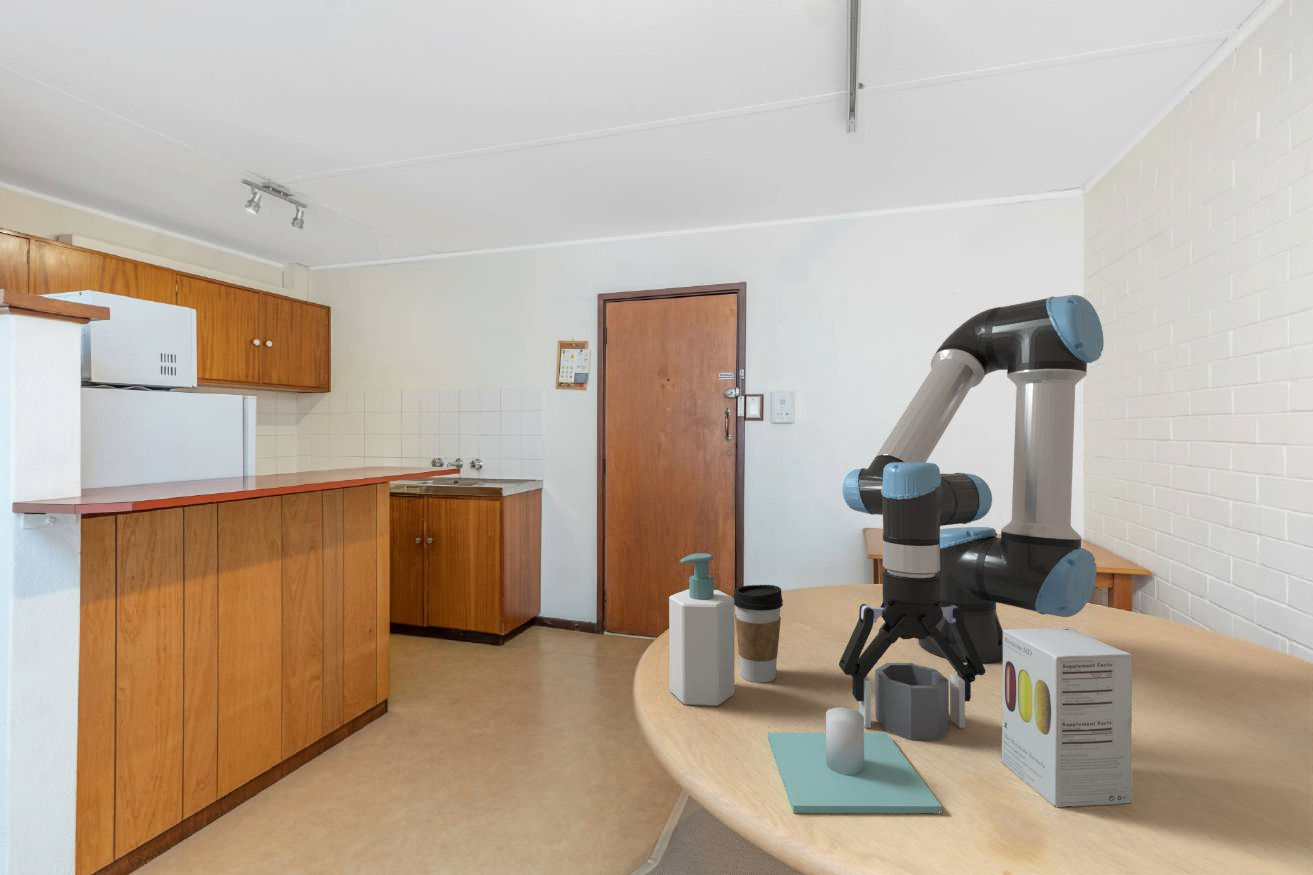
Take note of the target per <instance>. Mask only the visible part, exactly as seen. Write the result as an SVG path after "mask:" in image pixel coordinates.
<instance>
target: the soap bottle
mask: <svg viewBox="0 0 1313 875" xmlns="http://www.w3.org/2000/svg"><path fill="white" fill-rule="evenodd" d="M713 559H714V555H712V554H710V553H706V552H704V553H702V552H701V553H699V552H697V553H696V552H695V553H693V554H689V555H687V556H685V557H683V558H681V559H680V560H679V563H680V564H682V565H683V564H687V563H693V565H694V566H693V567H694V568H693V571H694V572H693V573H694V575H691V576H689V578H688V581H689V585H688V587H689V588H688V589H685V590H683V591H680V592H677V593H675V594H672V595H670V596H669V597H668V602H669V603H668V606H669V608H668V610H669V612H668V614H669V615H668V616H669V617H668V618H669V620H668V621H669V622H668V623H669V624H668V625H669V627H668V628H669V636H668V637H669V638H668V639H669V640H668V641H669V645H668V647H669V658H668V659H669V692H671V694H672V695H673V696H675V697H676V699H678V700H679V702H681V703H682V704H683V705H685V706H700V707H701V706H702V707H703V706H704V707H705V706H707V707H718V706H720V705H721V704H723V703H724V702H725V701H727V700H729V698H731V697H732V696H734V695H735V693H736V692H735V689H736V688H735V687H736V686H735V682H736V681H735V678H736V677H735V676H736V675H735V605H734V598H733V597H734V596H732V595H731V596H730V595H729V594H727V593H725V592H723V591H721V590H719V589H715V588H714V583H715V582H714V580H715V579H714V577H713V576H711V575H710V573H709V572H710V570H709V569H710V567H709V566H710V564H709V562H710V561H712V560H713Z"/></svg>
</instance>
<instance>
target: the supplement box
mask: <svg viewBox="0 0 1313 875" xmlns="http://www.w3.org/2000/svg"><path fill="white" fill-rule="evenodd" d="M1002 630H1003V660H1002V691H1001V692H1002V694H1001V696H1002V698H1001V699H1002V700H1001V701H1002V704H1001V706H1002V707H1001V708H1002V709H1001V710H1002V712H1001V717H1002V718H1001V719H1002V720H1001V763H1003V764H1004V765H1005V766H1007V768H1009V770H1011V771H1012V772H1013V773H1014V774H1016V775H1017V776H1018V777H1019V778H1020V779H1021V780H1023V781H1024V782H1025V783H1027V785H1029V786H1030V787H1031V788H1032V789H1033V790H1035V791H1036V793H1038V794H1039V795H1040V794H1041V797H1043V798H1044V799H1045V800H1046V799H1047V800H1046V801H1047V802H1049V803H1050V804H1051V803H1052V804H1053V805H1052V804H1051V805H1052V806H1054V805H1055V806H1057V807H1056V808H1067V807H1066V806H1072V807H1085V806H1086V807H1089V806H1103V805H1104V806H1105V805H1122V804H1123V805H1124V803H1125V804H1132V761H1133V760H1132V745H1133V744H1132V741H1133V740H1132V733H1133V732H1132V727H1133V726H1132V723H1133V720H1132V719H1133V716H1132V715H1133V712H1132V711H1133V707H1132V706H1133V703H1132V702H1133V654H1131V653H1130V652H1127V651H1124V650H1121V649H1119V648H1117V647H1114V646H1112V645H1109V644H1107V643H1104V642H1102V641H1100V640H1098V639H1095V638H1093V637H1091V636H1088V635H1086V634H1084V633H1082V632H1079V631H1077V630H1075V628H1074V629H1073V628H1071V627H1046V628H1045V627H1041V628H1039V627H1038V628H1009V629H1008V628H1006V629H1002ZM1055 806H1054V807H1055ZM1064 806H1065V807H1064Z"/></svg>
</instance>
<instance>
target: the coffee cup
mask: <svg viewBox="0 0 1313 875" xmlns="http://www.w3.org/2000/svg"><path fill="white" fill-rule="evenodd" d="M732 597H733V598H734V608H735V614H734V622H735V630H736V639H737V649H738V657H739V671H740V676H741V678H742V679H743V680H746V681H748V682H751V683H756V684H757V683H762V684H763V683H764V684H765V683H770V682H772V681H774V680H775V679H776V676H777V660H778V652H779V643H780V642H779V641H780V630H781V619H782V617H781V608H782V607H783V605H784V604H783V602H784V600H783V594H782V588H781V587H779V586H777V585H774V584H748V585H741V586H738V587H736V588H735V589H734V592H733V596H732Z"/></svg>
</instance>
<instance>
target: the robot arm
mask: <svg viewBox="0 0 1313 875" xmlns="http://www.w3.org/2000/svg"><path fill="white" fill-rule="evenodd" d="M1104 344H1105V342H1104V331H1103V326H1102V323H1101V320H1100V317H1099V315H1098V313H1097V310H1096V309H1095V307H1094V306H1093V304H1092V303H1091V302H1090V301H1089V300H1088V299H1087V298H1086V297H1083V296H1082V295H1078V294H1069V295H1062V296H1061V295H1060V296H1049V297H1046V298H1042V299H1037V300H1031V301H1027V302H1021V303H1017V304H1016V303H1015V304H1010V305H1005V306H998V307H993V308H989V309H986V310H984V311H981V312H978V313H977V314H976V315H974V316H972V317H971V318H969V319H968V320H966V321H965V322H963V323H962V324H961V325H960V326H959V327H957V328H956V329H955V330H954V331H952V333H951V334H949V335H948V336H947V338H946V339H945V340H944V341H943V342H942V344H941V345H940V346H939V347H938V348H937V351H935V353H934V355H933V356H932V358H931V360H930V367H931V368H930V369H931V370H930V371H929V373H928V374H927V376H926V378H925V379H924V381H923V382H922V384H921V386H919V388H918V390H917V391H916V393H915V394H914V396H913V398H912V399H911V401H910V402H909V404H908V405H907V407H906V409H905V410H904V412H903V414H902V415H901V417H900V418H899V419H898V421H897V423H896V425H895V426H894V427H893V428H892V430H891V431H890V434H889V435H888V437H887V438H886V440H885V441H884V443H883V445H882V446H881V447H880V449H879V451H878V452H877V454H876V455H875V457H874V459H873V460H872V461H871V463H870V465H869V466H868V468H864V467H863V468H856V469H853V470H851V471H849V472H848V473H847V475H845V476H846V477H845V478H844V480H843V483H842V496H843V500H844V502H845V503H846V505H847V506H848V507H849V508H850V509H851V510H853V511H855V512H859V513H864V514H869V515H877V516H878V515H880V516H882V532H883V533H882V567H883V568H884V569H885V570H884V571H883V572H882V603H881V605H880V606H879V607H878V606H870V605H869V606H868V605H867V604H866V603H862V604H861V605H860V606H859V614H858V620H857V623H856V625H855V627H854V629H853V631H852V632H851V633H852V634H851V636H850V638H849V641H848V643H847V644H846V647H845V649H844V652H843V653H842V656H841V658H840V659H839V662H838V666H839V668H840V669H841V671H842V673H844V675H846V676H851V680H852V681H851V682H852V683H851V684H852V693H851V694H852V696H853V698H854V699H855V701H856V702H858V712H859V713H860V714H862V715H863V717H864V728H872V716H871V715H872V714H871V713H872V711H871V710H872V708H871V707H872V706H871V705H872V695H871V694H872V684H871V683H872V681H871V680H870V678H869V677H868V674H869V673H870V672H871V670H872V669H873V668H874V667H875V665H877V663H878V662H879V661H880V659H881V658H882V657H883V655H884V654H885V653H886V651H887V650H888V649H889V648H890V646H892V644H895V643H897V641H898V639H901V640H911V639H917V641H918V645H919V646H920V647H921V648H922V649H923V650H925V651H927V652H929V653H931V654H932V655H933V654H934V655H937V656H938V657H941V658H945V659H946V660H947V661H948V663H949V664H950V666H951V667H952V668H953V669H954V670H955V672H956V673H953V672H952V673H949V700H950V701H949V720H951V721H952V722H953V724H955V725H956V726H957V727H958V728H960V729H963V728H966V702H970V701H971V698H972V697H971V696H972V694H971V693H972V692H971V691H972V688H971V686H972V684H971V683H974V682H975V681H976V677H977V676H983V675H985V673H986V668H985V666H984V664H983V663H994V662H1000V661H1003V630H1004V629H1003V628H1002V624H1001V622H1000V619H999V616H998V614H997V604H1002V605H1005V606H1010V607H1013V608H1020V609H1023V610H1027V611H1032V612H1035V613H1036V612H1037V613H1038V614H1040V615H1043V616H1044V615H1050V616H1053V617H1054V616H1056V617H1061V618H1070V617H1073V616H1076V615H1077V614H1079V613H1080V612H1081V611H1082V610H1083V609H1084V608H1085V606H1086V605H1087V604H1088V602H1089V601H1090V598H1091V596H1092V593H1093V590H1094V588H1095V584H1096V579H1097V563H1096V558H1095V556H1094V554H1093V553H1092V552H1091V551H1089V550H1087V549H1086V548H1084V547H1082V536H1081V535H1080V534H1079V533H1078V532H1077V531H1076V530H1075V529H1074V528H1073V527H1072V525H1071V524H1072V497H1073V496H1072V495H1073V494H1072V493H1073V490H1072V489H1073V469H1074V468H1073V465H1074V464H1073V463H1074V461H1073V460H1074V436H1075V406H1076V403H1075V402H1076V385H1077V384H1078V383H1079V382H1081V381H1082V380H1083V379H1084V378H1085V377H1087V373H1088V371H1087V368H1088V367H1087V366H1088V364H1092V363H1094V362H1096V361H1098V360H1099V359H1100V358H1101V357H1102V351H1104ZM1005 370H1006V371H1007V372H1006V377H1007V378H1008V379H1009V380H1010V381H1011V382H1012V383H1013V384H1014V385H1015V387H1016V391H1015V392H1016V395H1015V396H1016V397H1015V417H1014V418H1015V419H1014V420H1015V421H1014V447H1013V449H1014V451H1013V469H1012V470H1013V473H1012V474H1013V476H1012V497H1011V504H1012V505H1011V519H1010V521H1009V522H1008V523H1007V524H1006V525H1005V526H1003V527H1002V528H1001V529H1000V530H1001V531H1000V532H1001V533H1000V537H997V536H998V533H997V530H996V529H995V528H993V527H987V526H966V527H965V526H964V527H948V528H941V527H943V526H952V525H967V524H970V523H971V522H975V521H979V520H980V519H982V518H984V517H986V515H987V514H988V513H989V512H990V510H991V508H992V504H993V493H992V490H991V488H990V486H989V484H988V483H987V482H986V481H985V480H984V479H983V478H982V477H981V476H978V475H975V474H974V473H973V474H972V473H966V472H954V473H941V471H940V467H939V465H937V464H936V463H933V462H927V461H928V459H929V458H930V456H931V454H932V453H933V451H934V450H935V448H936V447H937V445H938V443H939V442H940V440H941V438H942V437H943V434H944V433H945V431H946V430H947V428H948V426H949V424H950V423H951V421H952V420H953V418H954V417H955V414H956V413H957V411H958V410H959V408H960V407H961V405H962V403H963V401H964V400H965V398H966V396H967V395H968V393H969V391H970V390H971V389H972V388H975V387H976V386H979V385H980V384H981V382H983V380H984V378H985V376H986V375H989V374H990V373H993V372H997V371H1005ZM880 617H881V618H882V619H883V621H884V622H883V624H882V625H881V626H880V628H879V630H878V633H877V634H876V636H874V638H873V639H872V641H871V642H870V643H869V645H867V646H866V643H867V641H868V639H869V637H870V634H871V633H872V630H873V626H874V624H875V623H877V621H878V619H879V618H880ZM865 646H866V648H865V650H864V647H865ZM863 650H864V651H863ZM965 662H966V663H965Z"/></svg>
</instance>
